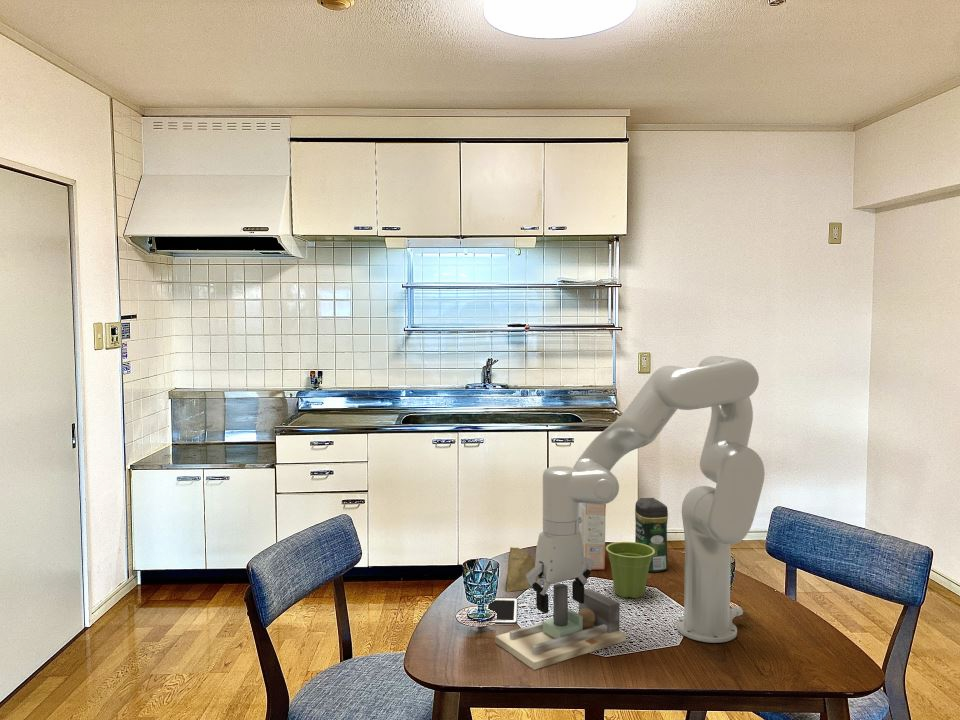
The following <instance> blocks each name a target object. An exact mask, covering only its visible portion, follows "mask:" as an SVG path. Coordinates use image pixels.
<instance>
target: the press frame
mask: <svg viewBox="0 0 960 720" xmlns="http://www.w3.org/2000/svg"><path fill="white" fill-rule="evenodd" d="M620 611H621V610H620V602H619V601H616V600H615V599H612V598H611V597H608V596H606V595H604V594H602V593H600V592H598V591H595V589H592V588H590V587H589V588H584V603H582V604H581V603H579V602H578V611H577V612H575V613H577V614H579V615H581V616H583V631H580V632H576V633H573V634H570V635H566V636H563V637H560V638H556V639H555V638H553V637H551V636H550V635H548V634H547V633H545V632H543V621H542V622H538V623H535V624H531V625H528V626H525V627H524V626H523V627H519V628H517V629H514V630H510V631H509V632H505V633H502V634H501V633H500V634H498V635H495V636H494V640H495V641H494V643H495V645H498V646H499V647H500V648H502V649H503V650H505V651H506V652H507V653H509V654H510V655H512V657H515V658H516V659H518V660H519V661H521V663H523V664H525V665H526V666H528V667H529V668H531V669H532V670H533V671H536V670H540V669H541V668H546V667H548V666H552V665H554V664H558V663H560V662H563V661H566V660H570V659H572V658H576V657H579V656H583V655H586V654H588V653H589V654H590V653H592V652H594V651H598V650H601V649H603V648H607V647H610V646H613V645H616V644H619V643H622V642H625V641H627V633H626V632H624V631H622V630H620V614H621V613H620Z"/></svg>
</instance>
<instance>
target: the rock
mask: <svg viewBox="0 0 960 720" xmlns="http://www.w3.org/2000/svg"><path fill="white" fill-rule="evenodd" d="M509 548H510V549H509V555H508V561H507V562H508V563H507V564H508V565H507V574H506V582H505V591H506V593H510V592H515V591H517V592H518V591H523V590H527V589H531V588H532V587H531V586H530V585H529V582H528V581H527V579H526V574H527V573H528V572H530V571H531V570H532V569H533V568H534V567H535V561H534V559H533V557H532V556H531V554H530V553H528V552H526V551H525V550H523V549H522V548H520V547H512V546H511V547H509ZM538 579H539V578H537V577H536V582H537V581H538ZM544 583H545V582H544ZM544 583H543V584H544Z"/></svg>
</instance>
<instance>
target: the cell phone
mask: <svg viewBox="0 0 960 720" xmlns="http://www.w3.org/2000/svg"><path fill="white" fill-rule="evenodd" d="M518 605H519V604H518V598H517V597H507V596H506V597H505V596H504V597H501V596H499V597H497V596H496V599H495V601H494V602H492V603H490V604H488V605H487V608H488V609H490V610H493V611H495V612H496V613H497V619H495V621H492V622H489V623H496V624H516V623H517V624H518V609H517V608H519V607H518ZM517 624H516V625H517Z"/></svg>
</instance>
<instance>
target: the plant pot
mask: <svg viewBox="0 0 960 720" xmlns="http://www.w3.org/2000/svg"><path fill="white" fill-rule="evenodd" d="M605 551H607V553H608V559H609V562H610V569H611V575H612V581H613V591H614V593H615V595H617V596H619V597H622V598H631V599H638V598H641V597H643V596H644V595H645V591H646V588H647V581H648V575H649V572H650V571H649V566H650V563H651V560H652V555H654V553H655V550H654V549H653V548H652V547H650V546H648V545H645V544H641V543H635V542H632V541H619V542H618V541H617V542H612V543H609V544H607V545H605Z"/></svg>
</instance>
